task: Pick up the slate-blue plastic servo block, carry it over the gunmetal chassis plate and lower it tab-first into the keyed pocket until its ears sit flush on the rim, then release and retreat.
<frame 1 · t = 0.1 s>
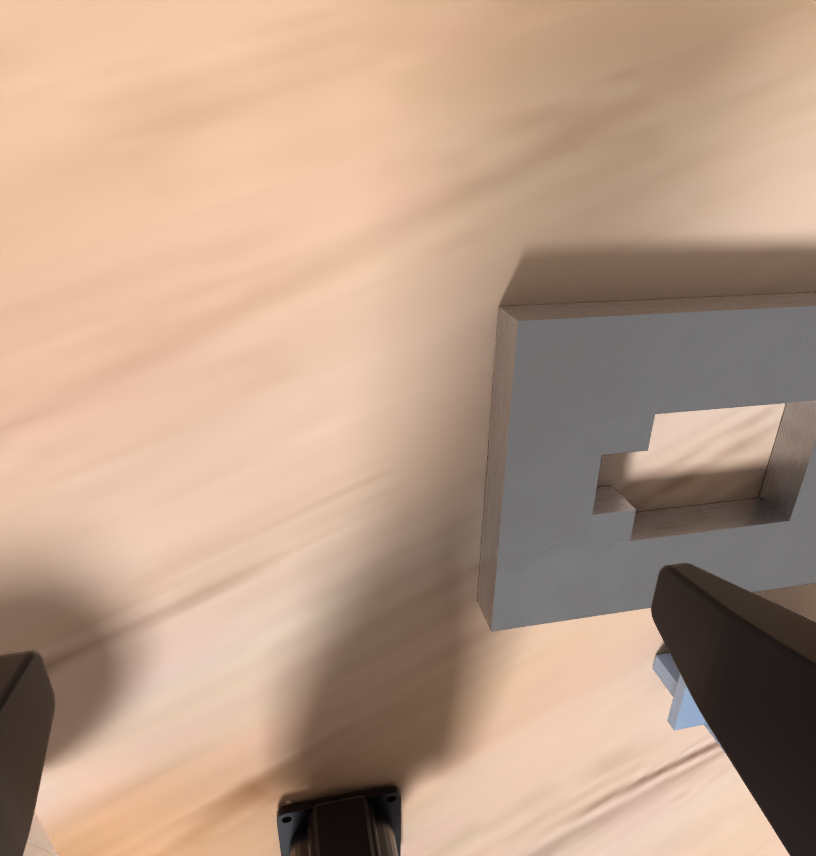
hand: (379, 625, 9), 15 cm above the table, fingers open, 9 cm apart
spinning top: (27, 779, 28), on the table
chassis plate: (698, 450, 28), on the table
servo: (728, 649, 34), on the table
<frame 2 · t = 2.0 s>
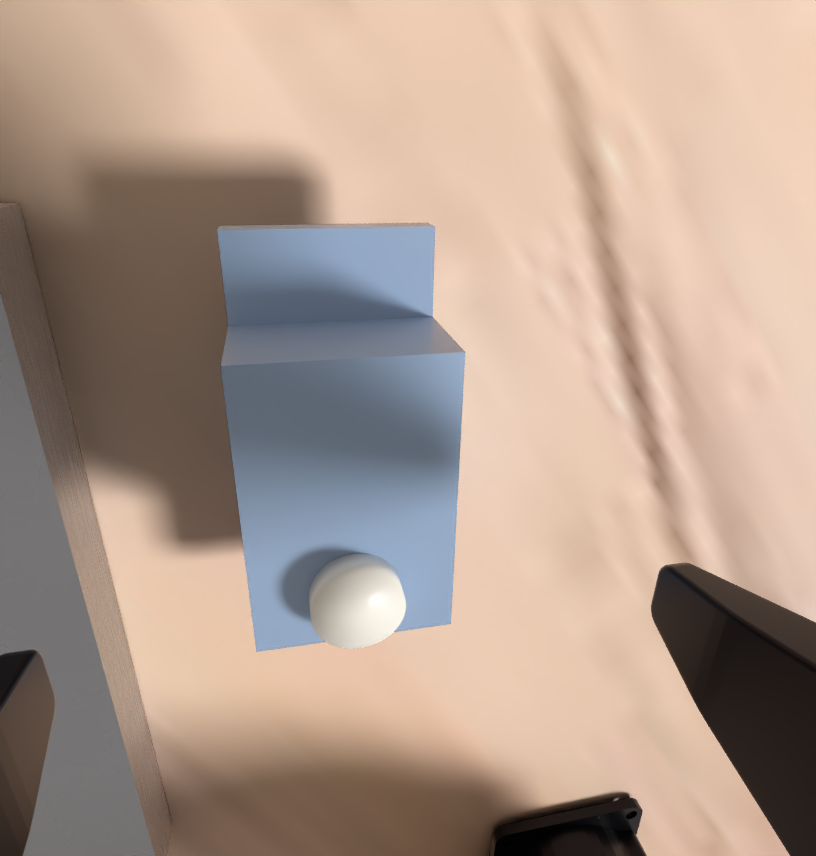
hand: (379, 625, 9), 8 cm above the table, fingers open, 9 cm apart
servo: (328, 407, 16), on the table
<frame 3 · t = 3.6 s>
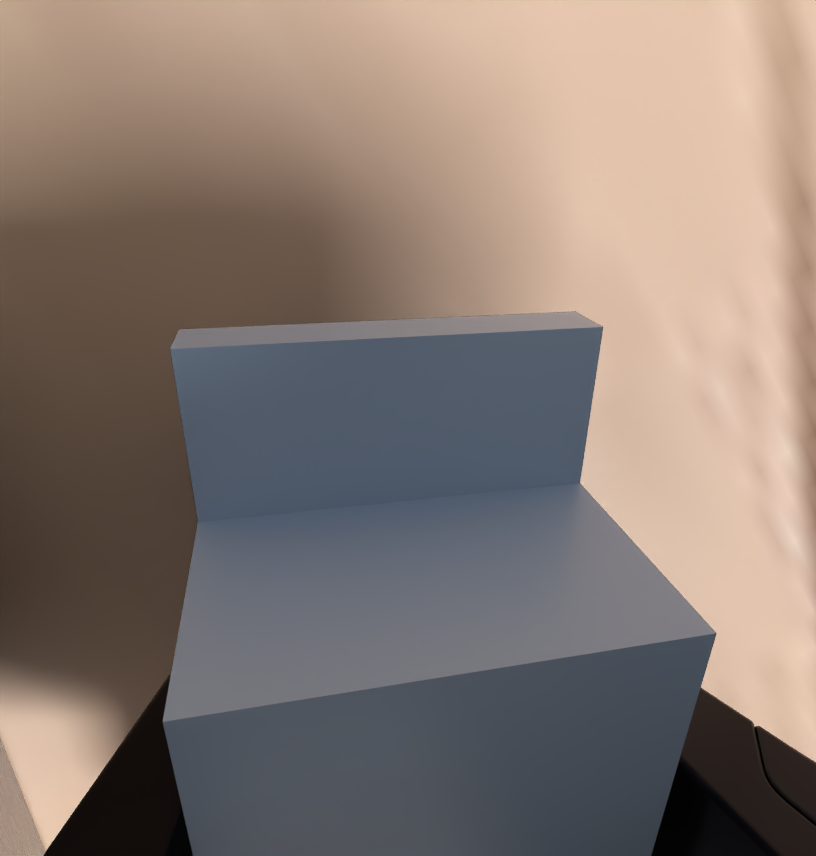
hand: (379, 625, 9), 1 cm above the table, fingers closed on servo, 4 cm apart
servo: (367, 571, 10), on the table, touching gripper
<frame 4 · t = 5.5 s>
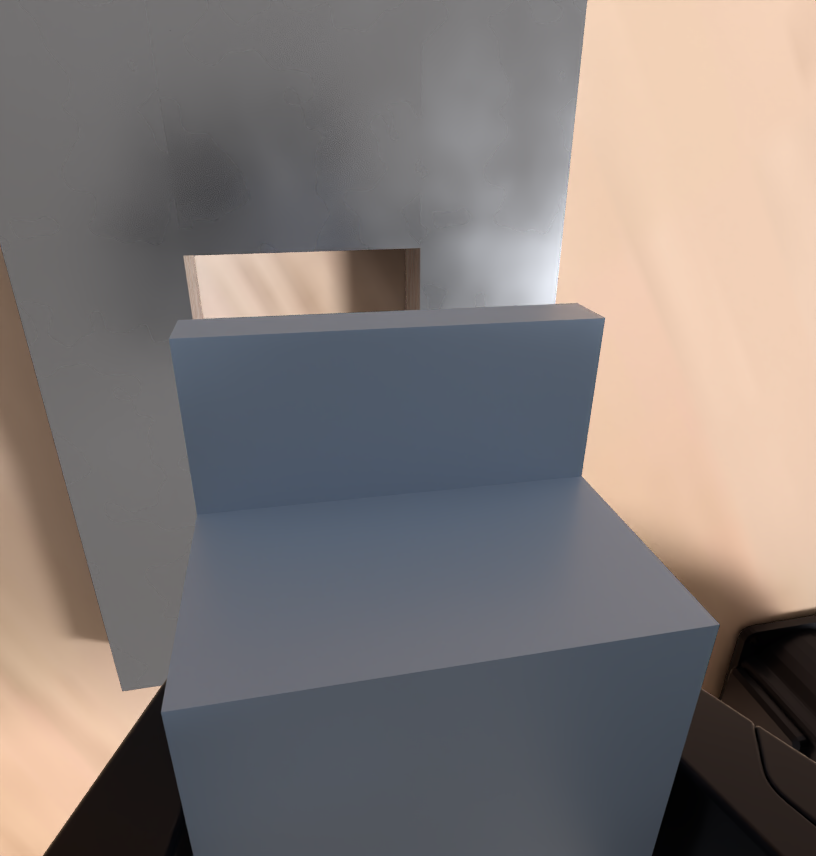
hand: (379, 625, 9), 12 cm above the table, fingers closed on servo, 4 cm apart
chassis plate: (311, 372, 19), on the table
servo: (367, 567, 10), point 10 cm above the table, touching gripper
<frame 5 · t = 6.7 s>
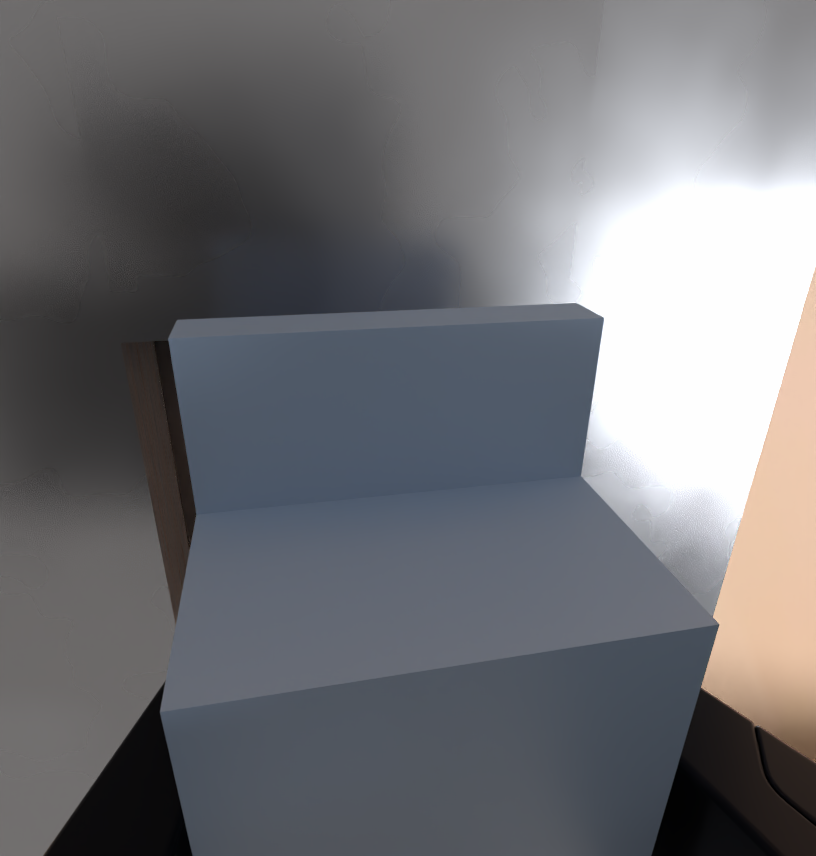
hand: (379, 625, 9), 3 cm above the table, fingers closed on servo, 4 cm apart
chassis plate: (348, 504, 12), on the table
servo: (367, 567, 10), point 2 cm above the table, touching gripper
when the fingers open (3 cm above the table, at t = 7.4 s): servo drops 2 cm, resting in chassis plate.
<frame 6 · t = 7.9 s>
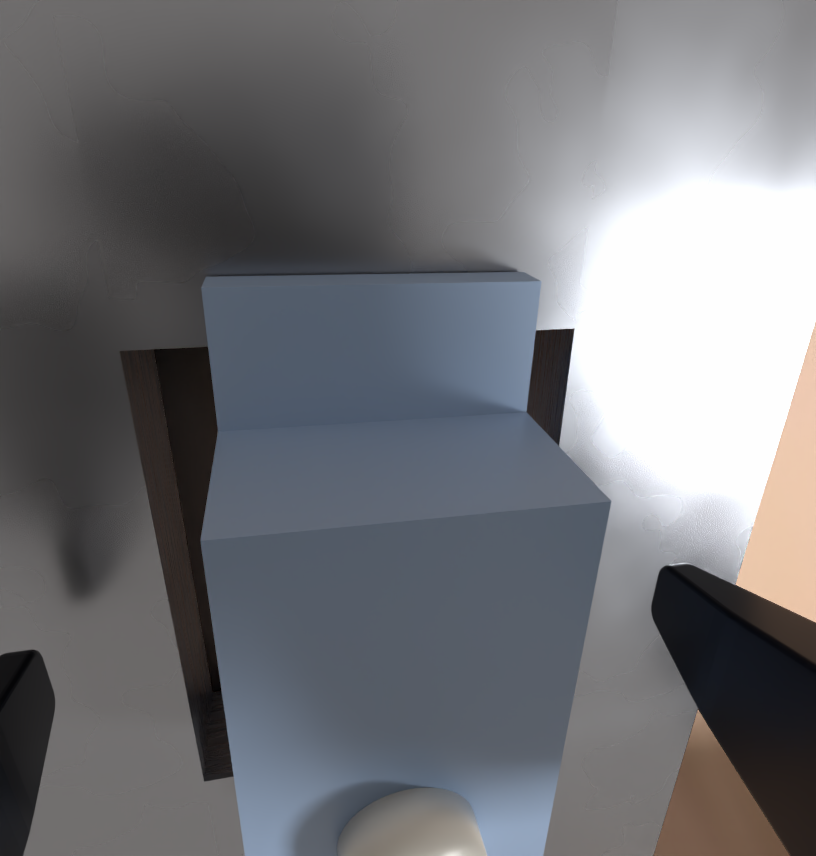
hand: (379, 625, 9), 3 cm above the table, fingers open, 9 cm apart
chassis plate: (352, 513, 12), on the table
servo: (355, 508, 12), resting in chassis plate
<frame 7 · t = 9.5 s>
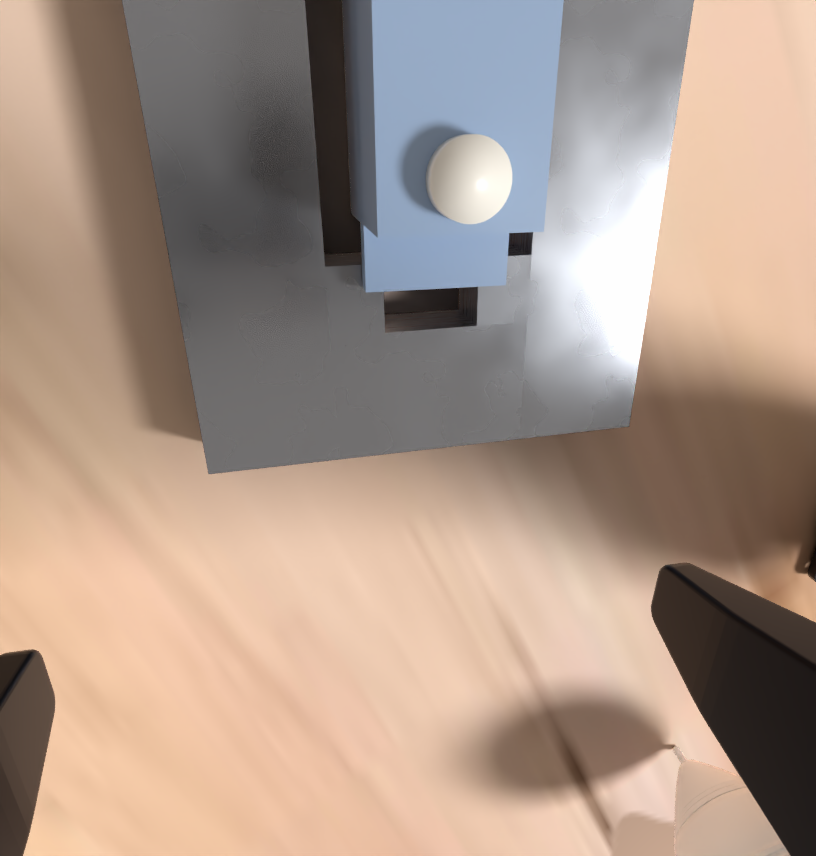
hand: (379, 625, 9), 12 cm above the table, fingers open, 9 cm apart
spinning top: (672, 744, 33), on the table
chassis plate: (414, 104, 17), on the table
servo: (416, 100, 17), resting in chassis plate
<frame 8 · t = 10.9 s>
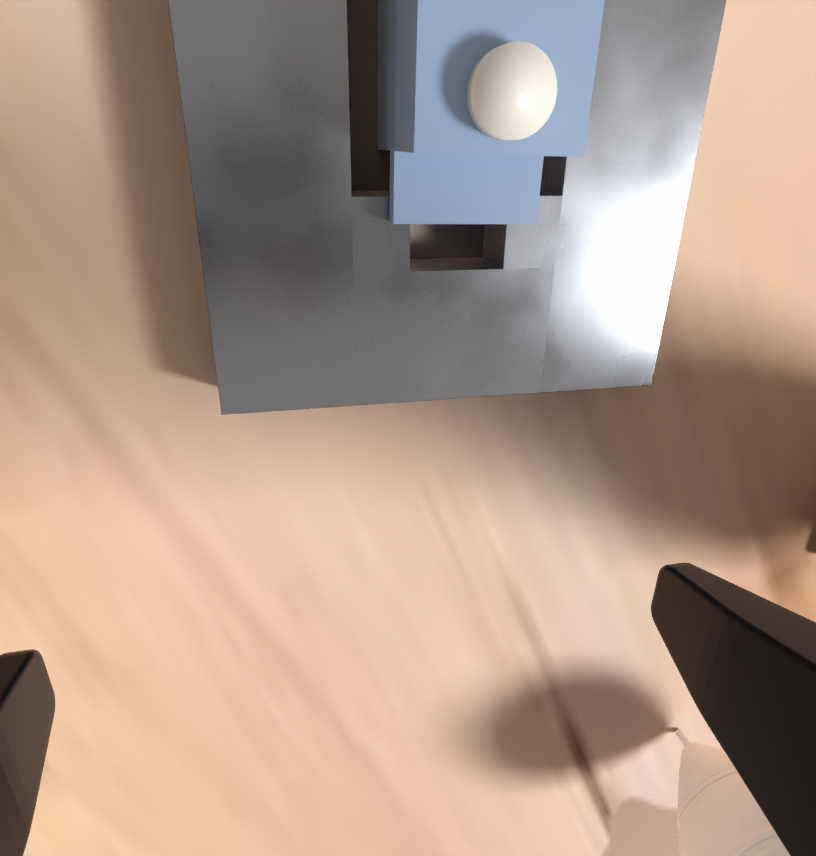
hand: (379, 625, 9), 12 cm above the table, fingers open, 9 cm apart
spinning top: (675, 727, 33), on the table
chassis plate: (447, 35, 17), on the table
servo: (449, 31, 17), resting in chassis plate
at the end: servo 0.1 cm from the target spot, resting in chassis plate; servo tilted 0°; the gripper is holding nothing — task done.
